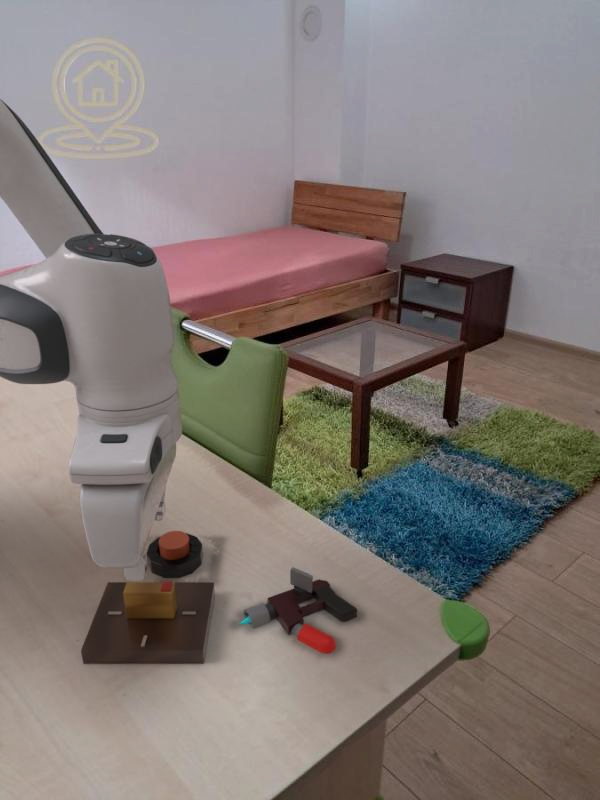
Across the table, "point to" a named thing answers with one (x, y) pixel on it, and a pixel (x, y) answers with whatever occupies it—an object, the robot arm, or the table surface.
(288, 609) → the toy gun
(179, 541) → the button
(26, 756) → the table surface
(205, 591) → the plate
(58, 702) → the table surface
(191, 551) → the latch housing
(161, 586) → the lock turn
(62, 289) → the robot arm
